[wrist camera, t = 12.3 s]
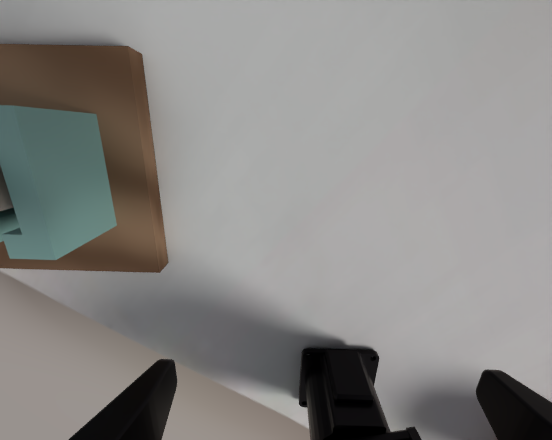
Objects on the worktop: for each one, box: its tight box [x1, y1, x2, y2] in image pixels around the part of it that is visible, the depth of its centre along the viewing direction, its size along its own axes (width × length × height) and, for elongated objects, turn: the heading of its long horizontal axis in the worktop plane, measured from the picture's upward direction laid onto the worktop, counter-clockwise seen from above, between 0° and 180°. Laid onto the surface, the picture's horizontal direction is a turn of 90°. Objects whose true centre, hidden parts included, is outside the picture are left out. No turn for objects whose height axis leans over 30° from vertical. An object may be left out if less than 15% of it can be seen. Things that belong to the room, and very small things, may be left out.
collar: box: [0, 105, 117, 260], centre depth 14 cm, size 7×7×5 cm
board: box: [0, 44, 168, 273], centre depth 14 cm, size 14×12×8 cm
